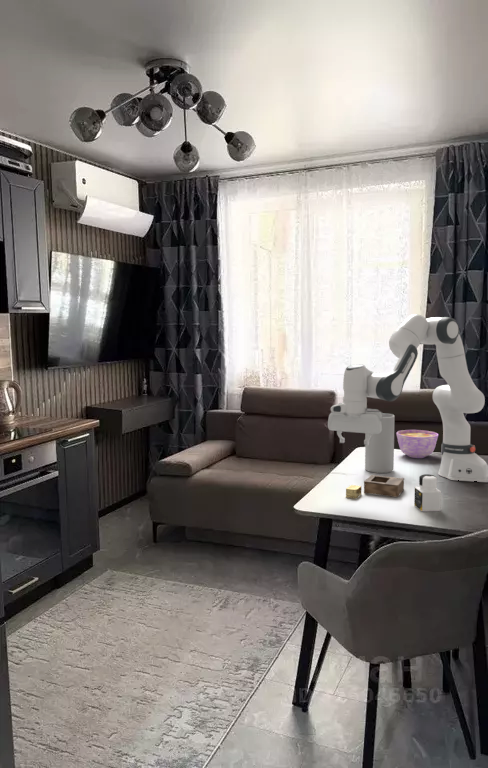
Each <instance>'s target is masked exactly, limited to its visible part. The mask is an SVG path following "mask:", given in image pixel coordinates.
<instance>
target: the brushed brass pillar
mask: <svg viewBox="0 0 488 768" xmlns="http://www.w3.org/2000/svg"><path fill="white" fill-rule="evenodd" d="M360 496H362V485H354V484H351V485H349V486H348V487H346V488H345V498H348V499H349V498H350V499H354V500H355V499H358V498H359V497H360Z"/></svg>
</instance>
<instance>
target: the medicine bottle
mask: <svg viewBox="0 0 488 768" xmlns="http://www.w3.org/2000/svg"><path fill="white" fill-rule="evenodd" d="M418 480H419V481H418V482H419V483H418V486H415V487H414V500H413V501H414V507H416V508H417V509H418V510H419V511H420V512H423V513H424V512H426V513H427V512H441V511H442V491H441V490H440V489H439V488H438V477H437V476H436V475H435V474H434V475H433V474H421V475H419V479H418Z"/></svg>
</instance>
